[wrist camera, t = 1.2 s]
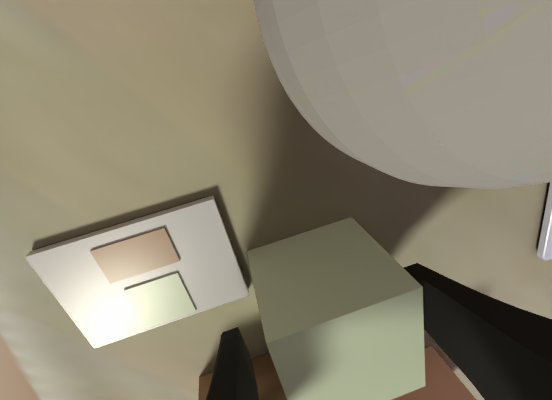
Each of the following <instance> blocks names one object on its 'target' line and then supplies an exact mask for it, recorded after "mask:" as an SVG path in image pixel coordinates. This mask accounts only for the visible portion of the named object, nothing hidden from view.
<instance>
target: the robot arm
mask: <svg viewBox="0 0 552 400" xmlns="http://www.w3.org/2000/svg"><path fill="white" fill-rule="evenodd" d="M537 255H538V257H540V258H542V259H544V260H550V259H552V182H550V186H549V191H548V197H547V202H546V208H545V213H544V218H543V224H542V229H541V235H540V240H539V245H538V251H537ZM404 269H405V270H406V271H407V272H408V273H409V274H410V275H411V276H412V277H413V278H414V279H415V280H416V281H417V282H418V283H419V284H420V285H421V286H422V287H423V316H424V329H425V330H426V331H427V333H428V334H429V335H430V336H431V337H432V338H433V339H434V340H435V342H436V343H437V344H438V345H439V346H440V347H441V348H442V349H443V351H444V352H445V353H446V354H447V355H448V356H449V357H450V358H451V360H452V361H453V362H454V363H455V364H456V365H457V366H458V367H459V369H460V370H461V371H462V372H463V373H464V374H465V375H466V377H467V378H468V379H469V380H470V381H471V383H472V384H473V385H474V386H475V387H476V389H477V390H478V391H479V393H480V394H481V395H482V397H483V398H484V399H485V400H552V319H549V318H546V317H543V316H540V315H537V314H534V313H531V312H528V311H525V310H522V309H519V308H517V307H514V306H511V305H509V304H506V303H504V302H501V301H499V300H496V299H494V298H492V297H489V296H487V295H484V294H482V293H480V292H477V291H475V290H473V289H471V288H469V287H466V286H464V285H462V284H460V283H458V282H456V281H453V280H451V279H449V278H447V277H445V276H443V275H441V274H439V273H437V272H435V271H433V270H431V269H429V268H427V267H424V266H422V265H420V264H418V263H416V264H413V265H410V266H407V267H405V268H404ZM206 400H259V397H258V388H257V383H256V378H255V373H254V368H253V363H252V360H251V357H250V355H249V352H248V350H247V348H246V345H245V343H244V340H243V338H242V336H241V333H240V331H239V329H238V327H237V328H234V329H231V330H228V331H226V332H223V333H222V335H221V339H220V345H219V350H218V355H217V360H216V364H215V368H214V372H213V376H212V379H211V383H210V387H209V390H208V394H207V397H206Z"/></svg>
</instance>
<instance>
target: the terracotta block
mask: <svg viewBox="0 0 552 400" xmlns="http://www.w3.org/2000/svg"><path fill="white" fill-rule="evenodd" d="M424 352H425V386H424V387H422V388H419V389H417V390H414V391H412V392H409V393H407V394H404V395H402V396H399V397H397V398H394V399H392V400H476V399H475V398H474V396H473V395H472V394H471V393H470V392H469V390H468V389H467V388H466V387H465V386H464V384H463V383H462V382H461V381H460V380H459V378H458V377H457V376H456V375H455V373H454V372H453V371H452V370H451V369H450V367H449V366H448V365H447V364H446V363H445V361H444V360H443V359H442V358H441V357H440V355H439V354H438V353H437V352H436V351H435V349H434V348H433V347H432V346H430V347H427V348H425V349H424Z"/></svg>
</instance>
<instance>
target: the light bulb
mask: <svg viewBox="0 0 552 400" xmlns="http://www.w3.org/2000/svg"><path fill="white" fill-rule="evenodd" d="M254 4H255V10H256V14H257V18H258V22H259V26H260V30H261V34H262V37H263V40H264V43H265V46H266V49H267V52H268V55H269V58H270V60H271V62H272V65H273V67H274V69H275V71H276V74H277V76H278V78H279V80H280V82H281V84H282V85H283V87H284V89H285V91H286V93H287V94H288V96H289V98H290V99H291V101H292V102H293V104H294V105H295V106H296V108H297V109H298V111H299V112H300V114H301V115H302V116H303V117H304V118H305V119H306V121H307V122H308V123H309V124H310V125H311V126H312V128H313V129H315V130H316V131H317V132H318V133H319V134H320V135H321V136H322V137H323V138H324V139H325V140H326V141H328V142H329V143H330V144H332V145H333V146H334V147H336V148H337V149H339V150H340V151H342V152H344V153H345V154H347V155H349V156H350V157H352V158H354V159H356V160H358V161H361V162H363V163H365V164H367V165H369V166H371V167H373V168H375V169H377V170H379V171H381V172H384V173H386V174H388V175H390V176H393V177H395V178H398V179H401V180H404V181H408V182H411V183H416V184H422V185H427V186H442V187H462V188H483V189H494V188H508V187H516V186H524V185H532V184H540V183H548V182H552V0H254Z"/></svg>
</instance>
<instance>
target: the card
mask: <svg viewBox="0 0 552 400" xmlns="http://www.w3.org/2000/svg"><path fill="white" fill-rule="evenodd" d="M25 258H26V260H27V261H28V262H29V263H30V265H31V266H32V267H33V269H34V270H35V271H36V273H37V274H38V275H39V277H40V278H41V279H42V281H43V282H44V283H45V285H46V286H47V287H48V289H49V290H50V291H51V292H52V294H53V295H54V296H55V298H56V299H57V300H58V302H59V303H60V304H61V306H62V307H63V308H64V310H65V311H66V312H67V314H68V315H69V316H70V318H71V319H72V320H73V321H74V323H75V324H76V325H77V327H78V328H79V329H80V331H81V332H82V333H83V335H84V336H85V337H86V339H87V340H88V341H89V343H90V344H91V345H92V346H93V348H94V349H95V348H98V347H101V346H103V345H106V344H109V343H112V342H115V341H118V340H121V339H124V338H127V337H130V336H133V335H135V334H138V333H141V332H144V331H147V330H150V329H153V328H156V327H159V326H162V325H165V324H167V323H170V322H173V321H176V320H179V319H182V318H185V317H188V316H191V315H194V314H197V313H199V312H202V311H205V310H208V309H211V308H214V307H217V306H220V305H223V304H226V303H229V302H231V301H234V300H237V299H240V298H243V297H246V296H249V291H248V287H247V285H246V282H245V279H244V277H243V274H242V271H241V268H240V266H239V263H238V260H237V258H236V255H235V252H234V249H233V247H232V244H231V241H230V239H229V236H228V233H227V230H226V228H225V225H224V222H223V220H222V217H221V214H220V211H219V209H218V206H217V203H216V201H215V198H214V195H212V196H209V197H206V198H203V199H199V200H196V201H193V202H190V203H186V204H183V205H180V206H177V207H173V208H170V209H167V210H163V211H160V212H157V213H154V214H150V215H147V216H144V217H141V218H137V219H134V220H131V221H128V222H124V223H121V224H118V225H115V226H111V227H108V228H105V229H101V230H98V231H95V232H92V233H88V234H85V235H82V236H79V237H75V238H72V239H69V240H66V241H62V242H59V243H56V244H52V245H49V246H46V247H43V248H39V249H36V250H33V251H30V252H29V253H28V254H27V255H26V256H25Z"/></svg>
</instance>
